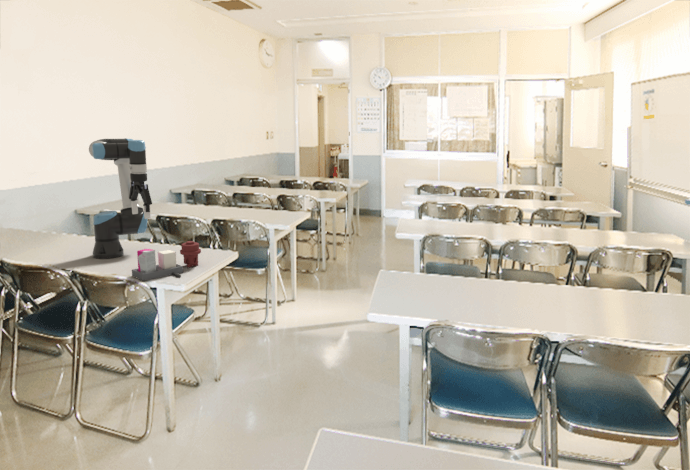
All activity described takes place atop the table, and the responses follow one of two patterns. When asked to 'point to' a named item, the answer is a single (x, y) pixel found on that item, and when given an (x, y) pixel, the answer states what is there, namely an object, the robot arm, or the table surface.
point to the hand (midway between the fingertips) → (141, 216)
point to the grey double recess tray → (161, 267)
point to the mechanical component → (190, 253)
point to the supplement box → (146, 260)
